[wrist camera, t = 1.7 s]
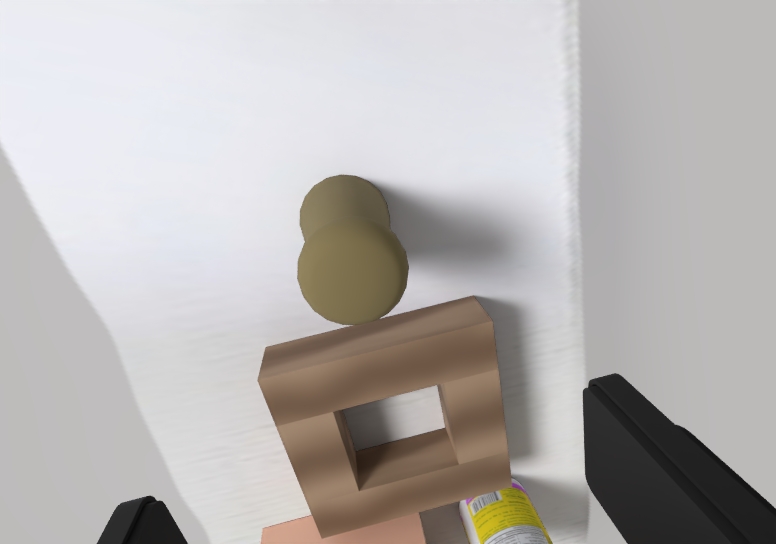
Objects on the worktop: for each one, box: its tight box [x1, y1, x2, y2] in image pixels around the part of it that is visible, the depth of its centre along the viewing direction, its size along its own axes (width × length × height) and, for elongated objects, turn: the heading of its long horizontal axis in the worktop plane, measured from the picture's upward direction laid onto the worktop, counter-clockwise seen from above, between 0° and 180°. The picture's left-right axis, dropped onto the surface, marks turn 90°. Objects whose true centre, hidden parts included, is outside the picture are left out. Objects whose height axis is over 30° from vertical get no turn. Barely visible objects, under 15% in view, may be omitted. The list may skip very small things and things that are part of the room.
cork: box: [297, 175, 409, 325], centre depth 23 cm, size 6×6×11 cm
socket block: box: [258, 296, 512, 539], centre depth 33 cm, size 16×16×4 cm
